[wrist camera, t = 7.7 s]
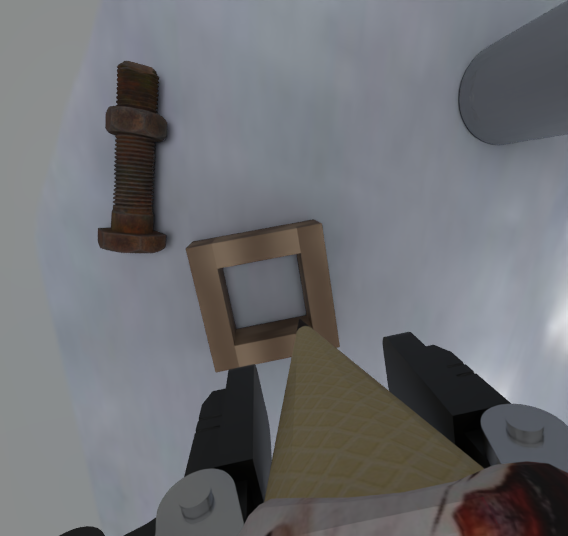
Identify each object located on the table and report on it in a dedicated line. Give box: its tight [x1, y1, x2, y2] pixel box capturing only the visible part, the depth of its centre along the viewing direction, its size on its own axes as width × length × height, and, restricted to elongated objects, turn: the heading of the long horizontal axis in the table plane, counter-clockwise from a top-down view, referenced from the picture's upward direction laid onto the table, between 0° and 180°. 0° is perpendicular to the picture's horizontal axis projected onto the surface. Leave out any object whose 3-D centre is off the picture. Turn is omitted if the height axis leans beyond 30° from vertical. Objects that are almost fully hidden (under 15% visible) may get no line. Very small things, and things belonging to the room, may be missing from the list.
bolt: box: [98, 61, 167, 253], centre depth 30 cm, size 6×5×15 cm
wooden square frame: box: [186, 220, 340, 372], centre depth 34 cm, size 12×12×4 cm
